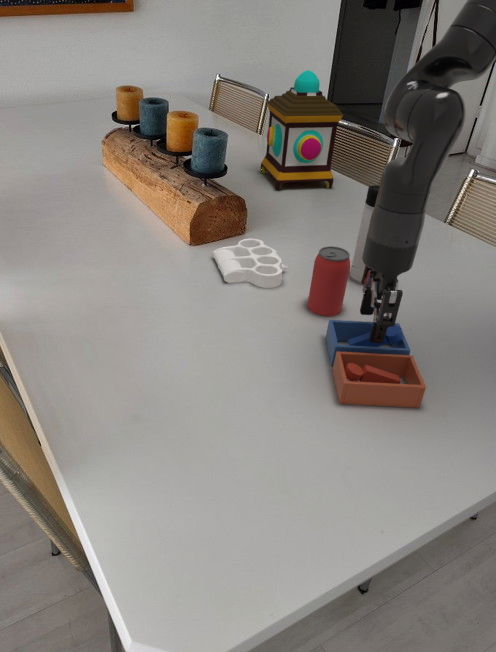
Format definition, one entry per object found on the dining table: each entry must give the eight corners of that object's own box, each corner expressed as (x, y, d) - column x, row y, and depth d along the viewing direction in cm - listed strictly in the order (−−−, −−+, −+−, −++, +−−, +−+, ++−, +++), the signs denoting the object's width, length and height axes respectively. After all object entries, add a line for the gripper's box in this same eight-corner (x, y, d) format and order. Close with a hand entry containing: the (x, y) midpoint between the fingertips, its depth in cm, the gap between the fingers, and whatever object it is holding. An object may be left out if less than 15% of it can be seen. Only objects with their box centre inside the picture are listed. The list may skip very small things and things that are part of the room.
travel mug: (342, 279, 116) (361, 185, 104) (360, 270, 120) (380, 179, 107) (366, 291, 112) (389, 195, 100) (384, 281, 116) (408, 188, 104)
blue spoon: (354, 357, 93) (349, 347, 91) (351, 348, 95) (347, 337, 93) (405, 339, 90) (401, 328, 89) (401, 330, 92) (398, 319, 91)
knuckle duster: (209, 254, 123) (271, 250, 126) (227, 293, 109) (296, 288, 112) (210, 240, 121) (272, 236, 124) (228, 278, 107) (298, 273, 110)
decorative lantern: (338, 192, 159) (358, 77, 141) (273, 194, 155) (285, 77, 137) (314, 170, 175) (329, 64, 156) (254, 172, 171) (263, 63, 152)
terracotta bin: (405, 377, 90) (412, 355, 87) (418, 410, 83) (426, 387, 80) (331, 373, 90) (336, 351, 87) (338, 406, 83) (343, 383, 80)
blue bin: (393, 344, 97) (399, 323, 94) (403, 372, 91) (410, 350, 88) (324, 340, 97) (328, 319, 94) (330, 368, 91) (335, 346, 88)
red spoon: (390, 383, 87) (398, 372, 86) (394, 395, 85) (402, 384, 84) (341, 368, 85) (348, 356, 84) (344, 379, 83) (351, 367, 82)
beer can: (299, 306, 106) (308, 249, 99) (324, 298, 109) (334, 242, 102) (323, 322, 102) (334, 263, 95) (348, 312, 105) (360, 255, 98)
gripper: (432, 257, 75) (403, 353, 84) (407, 217, 86) (384, 306, 96) (377, 254, 75) (355, 351, 85) (359, 215, 86) (341, 304, 96)
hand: (370, 327), depth 90 cm, fingers open, 8 cm apart
